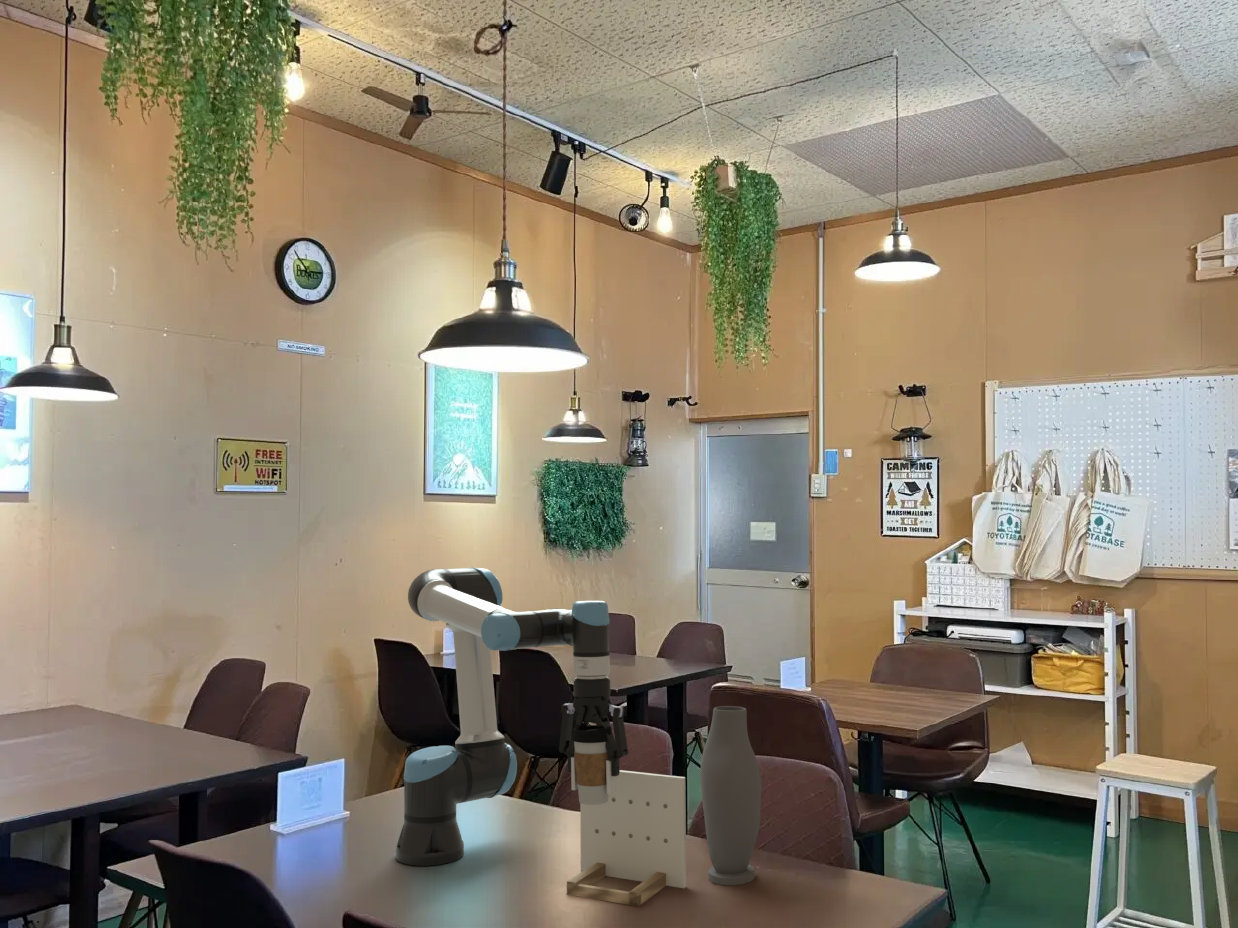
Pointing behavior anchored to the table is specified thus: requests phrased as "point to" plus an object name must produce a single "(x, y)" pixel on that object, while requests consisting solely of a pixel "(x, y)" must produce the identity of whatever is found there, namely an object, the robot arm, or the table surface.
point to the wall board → (638, 829)
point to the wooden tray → (635, 897)
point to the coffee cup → (591, 764)
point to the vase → (730, 797)
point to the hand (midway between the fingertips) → (593, 790)
